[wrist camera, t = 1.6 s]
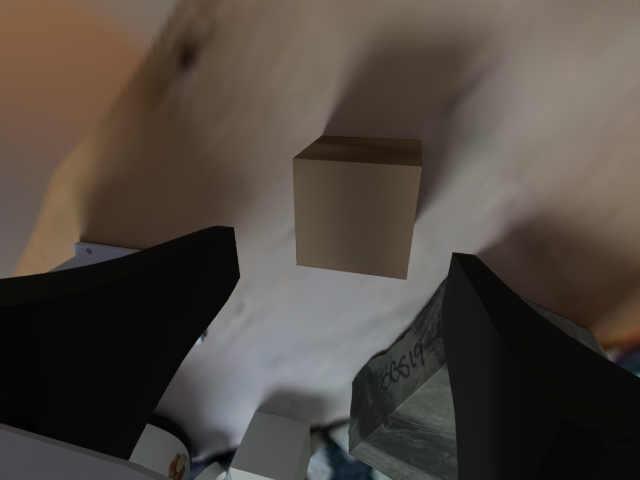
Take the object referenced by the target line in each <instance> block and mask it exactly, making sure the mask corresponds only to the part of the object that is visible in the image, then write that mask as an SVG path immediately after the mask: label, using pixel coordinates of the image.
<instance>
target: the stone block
mask: <svg viewBox="0 0 640 480" xmlns="http://www.w3.org/2000/svg"><path fill="white" fill-rule="evenodd" d="M446 282H447V279H446V280H445V281H444V283H443V284H442V285H441V286H439V288H438V289H437V291H436V293H435V295H434V296H433V298H432V299H431V301H430V303H429V305H428V306H427V307H426V308H425V309H424V311H423V312H422V313H421V315H420V316H419V317H418V318H417V320H416V321H415V322H414V323H413V325H412V326H411V328H410V330H409V332H408V333H407V334H405V336H404V337H403V339H402V340H400V341H399V342H396V343H395V345H394V346H393V347H392V348H391V349H390V350H389V351H388V352H387V353H386V354H385V355H378V356H377V357H375V358H373V359H371V360H370V361H369V362H368V363H367V365H366V366H365V367H363V368H362V369H361V371H360V372H359V374H358V375H357V377H356V378H355V379H354V381H353V382H352V401H351V409H350V423H349V429H348V434H349V454H350V455H352V456H353V457H355V458H357V459H358V460H360V461H362V462H364V463H366V464H368V465H370V466H371V467H373V468H375V469H376V470H378V471H379V472H381V473H382V474H384V475H386V476H387V477H389V478H390V479H392V480H458V466H457V445H456V428H455V414H454V406H453V398H452V392H451V386H450V380H449V374H448V368H447V362H446V356H445V350H444V344H443V337H442V309H441V306H442V302H443V297H444V292H445V287H446ZM518 296H519V295H518ZM519 297H520V298H521V299H522V300H524V301H525V302H526V303H527V304H528V305H530V306H531V307H532V308H533V309H534V310H536V311H537V312H538V313H539V314H541V315H542V316H543V317H545V318H546V319H547V320H549V321H550V322H551V323H553V324H554V325H555V326H557V327H558V328H560V329H561V330H563V331H564V332H565V333H567V334H568V335H570V336H571V337H573V338H574V339H576V340H577V341H579V342H580V343H582V344H583V345H585V346H586V347H588V348H590V349H591V350H593V351H595V352H596V353H598V354H600V355H601V356H603V357H605V358H606V359H608V360H609V358H608V357H607V355H606V354H605V352H604V350H603V348H602V347H601V345H600V343H599V342H598V340H597V339H596V337H595V336H594V334H593V333H592V332H591V331H590V330H589V329H587V328H584V327H582V326H580V325H578V324H577V323H574V322H573V321H570V320H568V319H566V318H564V317H562V316H560V315H558V314H555V313H553V312H551V311H549V310H547V309H545V308H543V307H541V306H539V305H537V304H535V303H533V302H531V301H529V300H527V299H525V298H523V297H521V296H519Z"/></svg>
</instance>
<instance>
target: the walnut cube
mask: <svg viewBox="0 0 640 480" xmlns="http://www.w3.org/2000/svg"><path fill="white" fill-rule="evenodd" d="M421 172H422V155H421V140H404V139H383V138H362V137H341V136H321V137H319V138H318V139H317V140H316V141H314V142H313V143H312V144H310V145H309V146H308V147H307V148H305V149H304V150H303V151H302V152H300V153H299V154H298V155H297V156H295V157H294V158H293V178H294V206H295V233H296V260H297V265H300V266H307V267H315V268H322V269H330V270H337V271H345V272H352V273H360V274H367V275H375V276H382V277H390V278H397V279H405V280H406V278H407V271H408V264H409V257H410V250H411V243H412V236H413V229H414V221H415V214H416V207H417V200H418V193H419V186H420V179H421Z"/></svg>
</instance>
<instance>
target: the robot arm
mask: <svg viewBox="0 0 640 480" xmlns="http://www.w3.org/2000/svg"><path fill="white" fill-rule="evenodd" d="M73 250H74V253H75V255H76V256H75V257H73V258H71V259H70V260H68V261H66V262H64V263H63V264H61V265H59V266H57V267H56V268H54V269H52V270H50V271H49V272H47V273H42V274H35V275H28V276H20V277H12V278H3V279H0V480H173V479H171V478H169V477H166V476H164V475H162V474H160V473H157V472H155V471H153V470H151V469H148V468H146V467H144V466H142V465H139V464H137V463H133V462H130V461H129V459H130V457H131V455H132V453H133V450H134V448H135V446H136V444H137V442H138V441H139V439H140V437H141V435H142V433H143V431H144V429H145V427H146V425H147V423H148V421H149V419H150V417H151V415H152V413H153V412H154V410H155V408H156V406H157V404H158V403H159V401H160V399H161V397H162V395H163V394H164V392H165V390H166V388H167V386H168V385H169V383H170V381H171V380H172V378H173V376H174V375H175V373H176V371H177V370H178V368H179V366H180V365H181V363H182V361H183V360H184V358H185V357H186V356H187V354H188V353H189V351H190V350H191V348H192V347H193V346H194V344H201V343H202V342H203V341H204V336H203V333H204V331H205V330H206V329H207V327H208V326H209V325H210V323H211V322H212V321H213V319H214V318H215V317H216V315H217V314H218V313H219V311H220V310H221V309H222V307H223V306H224V305H225V303H226V302H227V300H228V299H229V297H230V295H231V294H232V292H233V290H234V288H235V286H236V284H237V282H238V280H239V278H240V271H239V264H238V256H237V248H236V241H235V233H234V227H226V226H213V227H209V228H206V229H202V230H199V231H196V232H193V233H191V234H188V235H185V236H182V237H179V238H177V239H174V240H171V241H168V242H165V243H163V244H160V245H157V246H154V247H151V248H147V249H144V250H136V249H129V248H121V247H114V246H107V245H99V244H92V243H85V242H77V243H75V244H74V245H73ZM441 309H442V337H443V344H444V350H445V356H446V362H447V368H448V374H449V380H450V386H451V392H452V398H453V406H454V414H455V428H456V445H457V466H458V480H640V377H638V376H636V375H634V374H632V373H631V372H629V371H627V370H625V369H623V368H622V367H620V366H618V365H616V364H615V363H613V362H611V361H610V360H608V359H606V358H605V357H603V356H601V355H600V354H598V353H596V352H595V351H593V350H591V349H590V348H588V347H586V346H585V345H583V344H582V343H580V342H579V341H577V340H576V339H574V338H573V337H571V336H570V335H568V334H567V333H565V332H564V331H563V330H561V329H560V328H558V327H557V326H555V325H554V324H553V323H551V322H550V321H549V320H547V319H546V318H545V317H543V316H542V315H541V314H539V313H538V312H537V311H536V310H534V309H533V308H532V307H531V306H530V305H528V304H527V303H526V302H525V301H524V300H522V299H521V298H520V297H519V296H518V295H517V294H515V293H514V292H513V291H512V290H511V289H510V288H509V287H508V286H507V285H506V284H505V283H503V282H502V281H501V280H500V279H499V278H498V277H497V276H496V275H495V274H494V273H493V272H492V271H491V270H490V269H489V268H488V267H487V266H486V265H485V264H484V263H483V262H482V261H481V260H480V259H479V258H478V257H477V256H475V255H472V254H464V253H455V252H453V253H452V258H451V263H450V268H449V273H448V277H447V282H446V287H445V292H444V297H443V302H442V306H441Z"/></svg>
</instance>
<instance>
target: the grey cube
mask: <svg viewBox="0 0 640 480" xmlns="http://www.w3.org/2000/svg"><path fill="white" fill-rule="evenodd" d="M310 458H311V452H310V423H307V422H303V421H299V420H294V419H290V418H286V417H282V416H277V415H273V414H269V413H265V412H260V411H256V410H255V413H254V415H253V417H252V419H251V421H250V424H249V426H248V428H247V430H246V432H245V434H244V437H243V439H242V441H241V443H240V445H239V448H238V450H237V452H236V454H235V456H234V458H233V461H232V463H231V465H230V472H231V476H232V480H305V477H306V473H307V469H308V466H309V462H310Z"/></svg>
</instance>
